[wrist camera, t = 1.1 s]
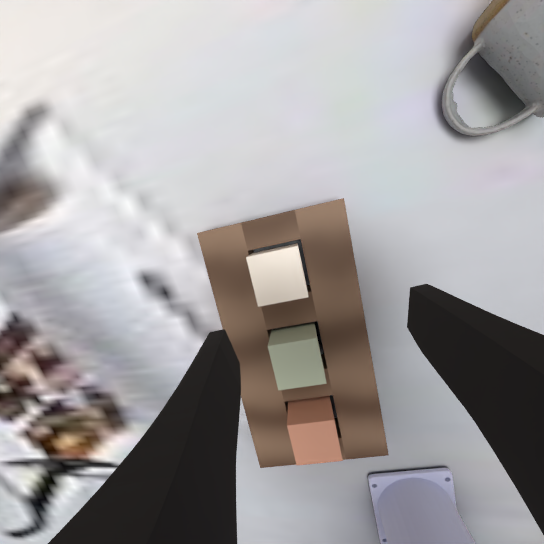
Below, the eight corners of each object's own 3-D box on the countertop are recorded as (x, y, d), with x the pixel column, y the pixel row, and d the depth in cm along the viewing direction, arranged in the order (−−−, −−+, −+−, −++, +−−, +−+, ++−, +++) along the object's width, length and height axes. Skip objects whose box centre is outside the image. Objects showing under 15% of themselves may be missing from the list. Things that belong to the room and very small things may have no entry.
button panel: (379, 432, 25) (388, 455, 23) (263, 445, 27) (260, 467, 24) (338, 201, 21) (343, 198, 19) (207, 232, 23) (196, 233, 21)
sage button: (322, 362, 22) (326, 383, 19) (280, 369, 23) (278, 390, 20) (314, 322, 21) (317, 337, 19) (271, 330, 22) (267, 346, 19)
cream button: (306, 287, 21) (308, 297, 18) (263, 295, 22) (258, 306, 19) (297, 243, 20) (297, 245, 17) (253, 252, 21) (245, 257, 18)
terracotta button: (336, 431, 23) (342, 460, 20) (296, 435, 24) (296, 465, 21) (329, 394, 23) (334, 419, 20) (288, 400, 23) (286, 425, 20)
